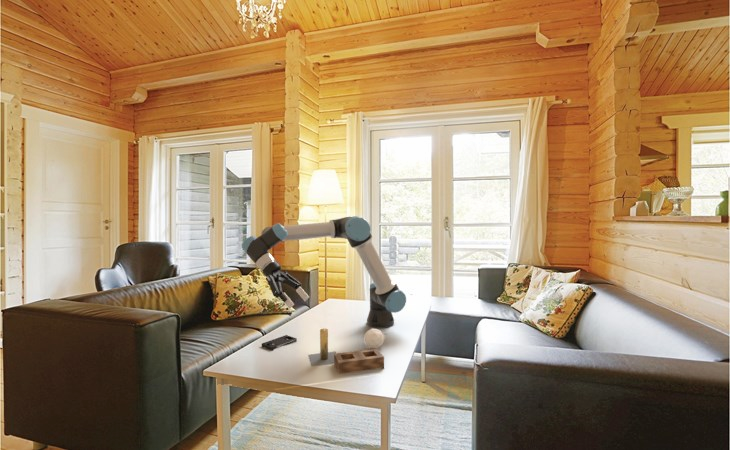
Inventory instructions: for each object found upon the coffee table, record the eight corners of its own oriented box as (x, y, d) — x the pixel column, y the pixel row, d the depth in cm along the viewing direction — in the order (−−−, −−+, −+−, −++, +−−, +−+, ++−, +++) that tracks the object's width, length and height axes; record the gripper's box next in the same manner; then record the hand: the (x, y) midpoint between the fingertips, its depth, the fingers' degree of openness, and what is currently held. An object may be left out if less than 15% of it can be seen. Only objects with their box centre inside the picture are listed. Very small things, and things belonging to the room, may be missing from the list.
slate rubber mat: (335, 352, 149) (335, 351, 149) (341, 363, 137) (341, 362, 137) (308, 355, 145) (308, 354, 145) (311, 367, 134) (311, 366, 134)
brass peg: (327, 356, 143) (327, 328, 143) (328, 359, 140) (328, 330, 140) (319, 357, 142) (319, 328, 142) (320, 360, 139) (320, 331, 139)
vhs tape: (272, 351, 151) (272, 347, 151) (261, 347, 156) (261, 343, 156) (297, 342, 163) (296, 338, 163) (286, 339, 167) (286, 335, 167)
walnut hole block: (377, 359, 141) (376, 348, 141) (384, 368, 132) (384, 356, 132) (334, 364, 136) (334, 353, 136) (338, 374, 127) (338, 362, 127)
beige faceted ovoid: (377, 350, 146) (392, 345, 155) (373, 328, 148) (388, 324, 158) (362, 352, 151) (377, 347, 160) (358, 330, 153) (373, 327, 163)
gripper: (278, 268, 161) (307, 301, 157) (245, 276, 137) (278, 316, 133) (288, 257, 159) (318, 291, 155) (257, 263, 135) (290, 303, 131)
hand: (300, 302), depth 144 cm, fingers open, 13 cm apart
